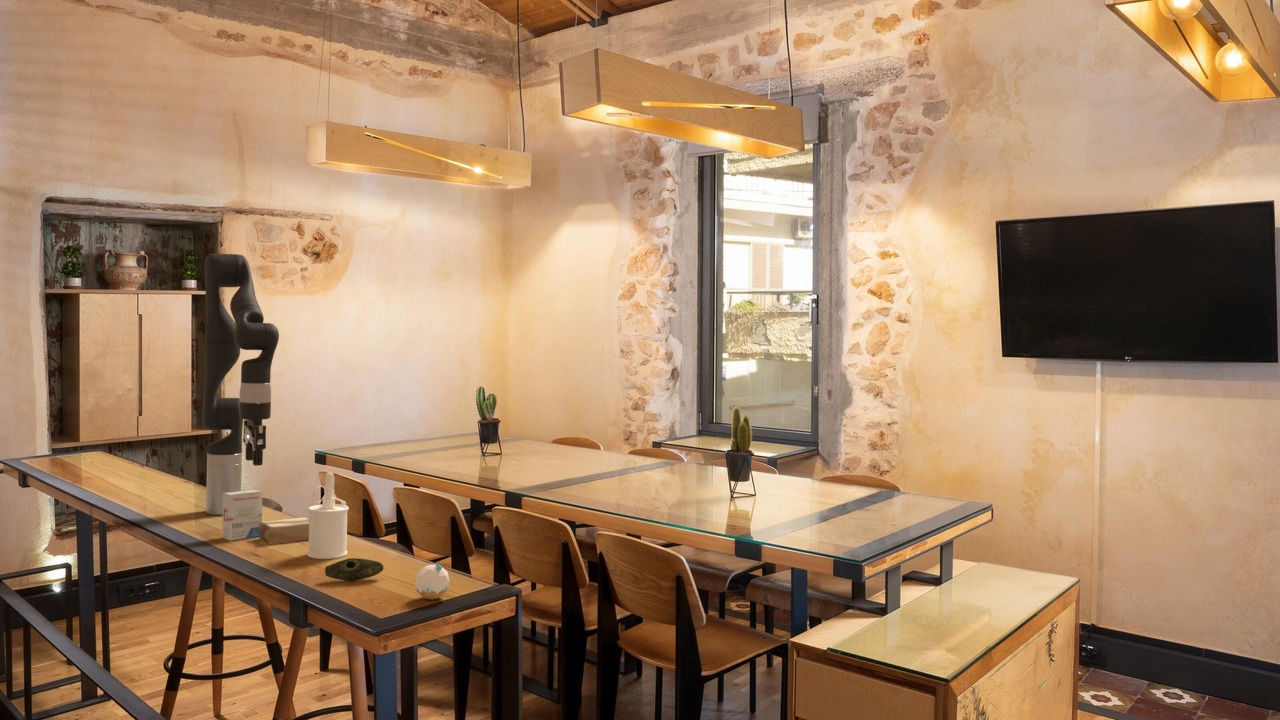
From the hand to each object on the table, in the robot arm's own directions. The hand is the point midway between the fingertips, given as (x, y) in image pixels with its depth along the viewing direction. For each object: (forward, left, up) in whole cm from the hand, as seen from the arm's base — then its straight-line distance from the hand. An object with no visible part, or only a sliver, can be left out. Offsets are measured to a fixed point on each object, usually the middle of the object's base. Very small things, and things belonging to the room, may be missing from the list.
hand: (253, 462), depth 241 cm
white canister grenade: (+28, +9, -20) cm, 35 cm away
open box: (+7, +7, -19) cm, 22 cm away
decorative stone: (+53, +4, -20) cm, 56 cm away
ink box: (-1, -2, -20) cm, 20 cm away
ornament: (+74, +11, -20) cm, 78 cm away
